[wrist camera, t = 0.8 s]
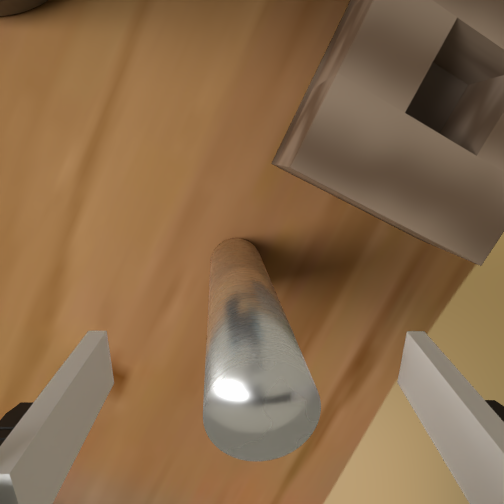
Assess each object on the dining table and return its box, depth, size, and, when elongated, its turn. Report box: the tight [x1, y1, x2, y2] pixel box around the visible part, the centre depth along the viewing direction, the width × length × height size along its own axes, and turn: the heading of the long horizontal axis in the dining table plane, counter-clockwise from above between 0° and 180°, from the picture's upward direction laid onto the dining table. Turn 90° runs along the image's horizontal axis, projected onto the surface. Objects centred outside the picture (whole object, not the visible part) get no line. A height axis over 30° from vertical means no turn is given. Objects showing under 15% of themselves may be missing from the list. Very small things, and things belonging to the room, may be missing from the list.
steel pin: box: [203, 238, 321, 461], centre depth 20 cm, size 4×4×17 cm
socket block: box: [271, 0, 504, 266], centre depth 23 cm, size 16×14×7 cm
